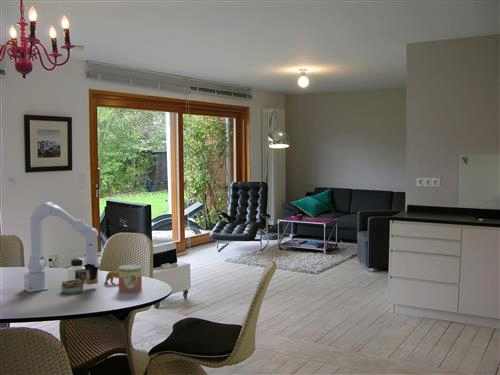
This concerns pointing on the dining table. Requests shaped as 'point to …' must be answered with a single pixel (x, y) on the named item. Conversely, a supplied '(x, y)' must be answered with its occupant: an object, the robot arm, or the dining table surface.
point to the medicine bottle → (77, 270)
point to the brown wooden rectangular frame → (72, 283)
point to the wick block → (88, 279)
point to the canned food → (130, 279)
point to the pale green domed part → (72, 290)
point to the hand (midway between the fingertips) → (91, 278)
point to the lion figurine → (112, 276)
